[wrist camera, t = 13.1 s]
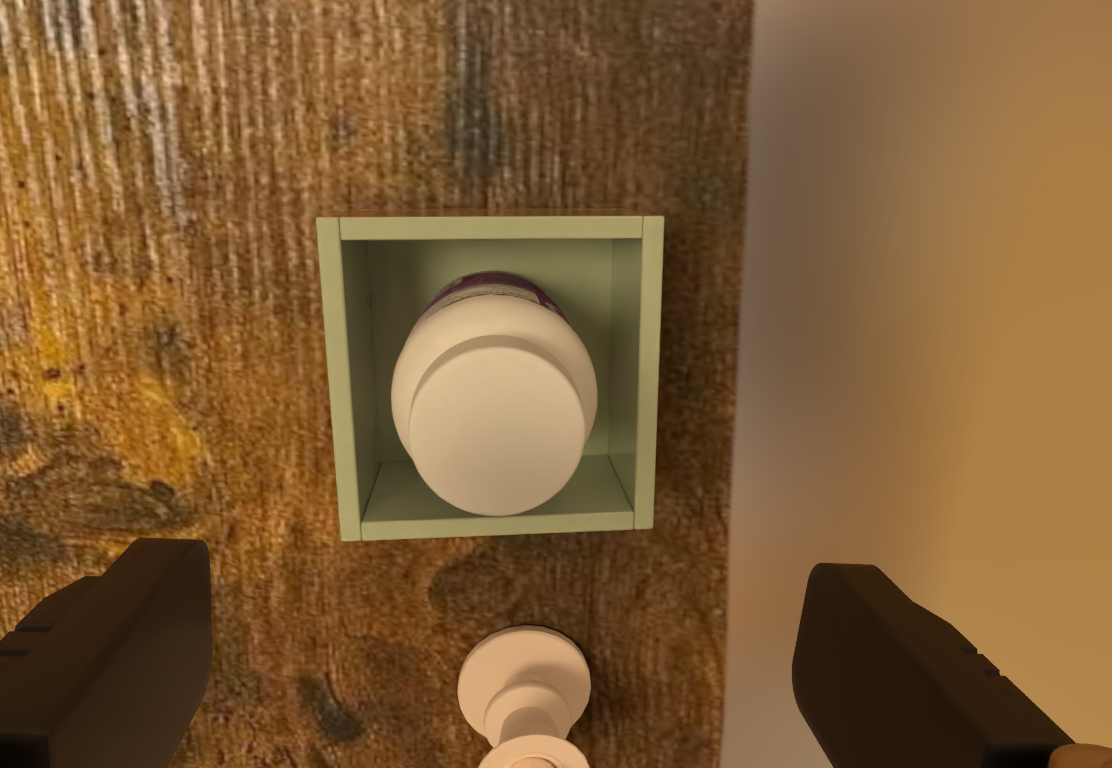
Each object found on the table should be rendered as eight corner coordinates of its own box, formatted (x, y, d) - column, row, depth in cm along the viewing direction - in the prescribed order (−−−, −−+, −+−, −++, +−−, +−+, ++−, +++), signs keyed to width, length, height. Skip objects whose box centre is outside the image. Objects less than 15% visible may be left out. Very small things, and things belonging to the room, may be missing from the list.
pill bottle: (578, 408, 27) (630, 528, 18) (428, 431, 27) (400, 566, 18) (558, 255, 26) (603, 300, 16) (399, 278, 25) (353, 336, 16)
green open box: (367, 471, 28) (340, 542, 22) (350, 208, 25) (314, 217, 20) (620, 463, 28) (653, 529, 23) (627, 208, 26) (665, 215, 21)
